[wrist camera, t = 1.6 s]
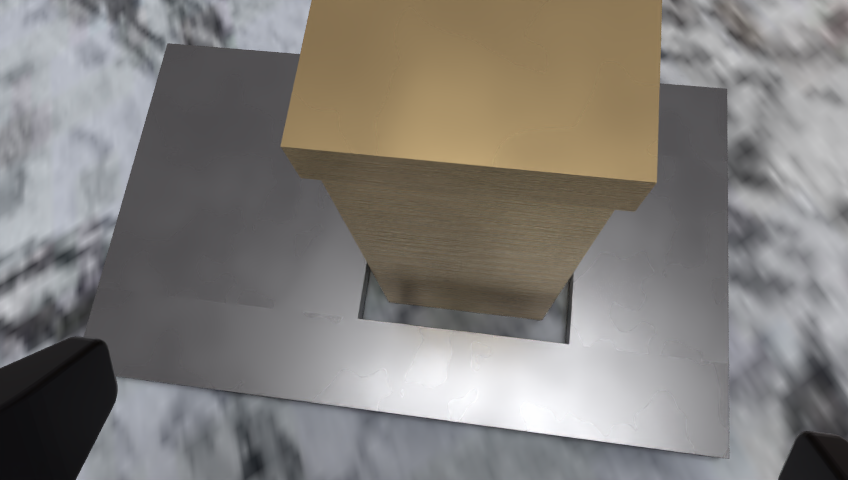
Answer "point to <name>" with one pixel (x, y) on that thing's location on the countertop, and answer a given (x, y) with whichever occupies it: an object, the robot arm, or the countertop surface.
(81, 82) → the countertop surface
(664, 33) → the countertop surface
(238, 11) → the countertop surface
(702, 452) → the grey plate with hole
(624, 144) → the tan square peg
